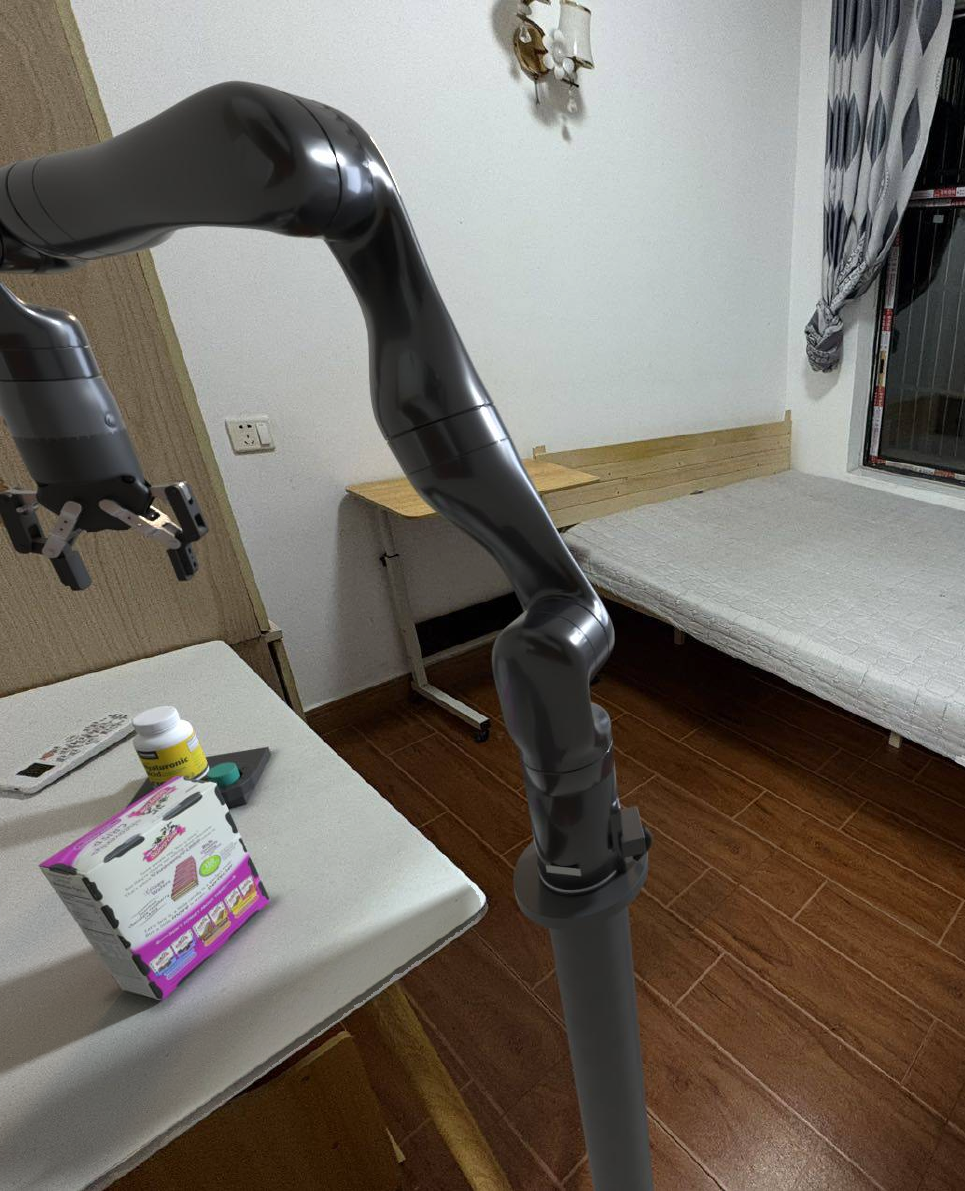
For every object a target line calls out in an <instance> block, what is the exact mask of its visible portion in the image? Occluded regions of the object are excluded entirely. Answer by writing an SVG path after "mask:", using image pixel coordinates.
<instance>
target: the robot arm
mask: <svg viewBox="0 0 965 1191" xmlns="http://www.w3.org/2000/svg"><path fill="white" fill-rule="evenodd" d="M197 227H198V228H199V227H209V228H210V227H211V228H229V229H230V228H231V229H243V230H244V229H246V230H257V231H263V232H270V233H273V234H276V235H279V236H284V237H288V238H295V239H296V238H298V239H312V240H313V239H314V240H322V241H323V242H324V243H325V244H326V246H327V248H328V249H329V250H330V252H331V254H332V255H333V257H334V258H335V260H336V262H337V263H338V265H339V267H340V269H341V270H342V273H343V274H344V276H345V278H346V280H347V282H348V284H349V285H350V288H351V290H352V291H353V293H354V295H355V297H356V300H357V302H358V305H359V307H360V310H361V313H362V317H363V319H364V324H365V327H366V334H367V347H368V348H367V350H368V381H369V383H368V384H369V395H370V404H371V408H372V412H373V413H372V414H373V417H374V420H375V422H376V425H377V427H378V429H379V432H380V433H381V435H382V437H383V439H384V441H386V444H387V446H388V448H389V449H390V451H391V453H392V454H393V456H394V458H395V460H396V462H397V463H398V465H399V467H400V469H401V470H402V472H403V474H404V475H405V478H406V479H407V481H408V482H409V484H410V485H411V486H412V488H413V490H414V491H415V493H417V495H418V496H419V497H420V499H421V500H422V501H423V502H424V503H425V504H426V505H428V506H429V507H430V508H431V509H432V510H433V511H434V512H436V514H438V515H439V516H440V517H442V519H444V520H445V521H447V522H448V523H449V524H450V525H452V526H453V527H455V528H456V529H457V530H459V531H460V532H461V533H463V534H464V535H466V536H467V537H468V538H470V539H471V540H472V541H473V542H475V543H476V544H478V545H479V546H480V547H482V548H483V549H484V550H485V551H486V552H487V553H488V554H489V555H490V556H491V557H492V558H493V560H494V561H495V562H496V563H497V565H498V566H499V567H500V569H501V570H502V572H503V573H504V574H505V577H506V578H507V580H508V582H509V584H510V585H511V587H512V589H513V591H514V592H515V593H514V594H515V595H516V597H517V599H518V601H519V603H520V606H521V608H522V611H523V612H522V613H521V614H520V615H519V616H517V618H515V619H514V620H513V621H511V622H510V623H509V624H508V625H507V626H506V627H504V628H503V629H502V630H501V632H500V633H499V634H498V635H497V637H496V638H495V640H494V643H493V645H492V649H491V650H492V651H491V670H492V674H493V675H492V676H493V681H494V686H495V689H496V693H497V698H498V701H499V705H500V710H501V714H502V718H503V722H504V726H505V729H506V731H507V733H508V736H509V737H510V738H511V740H512V741H513V742H514V744H515V745H516V748H518V753H519V760H520V765H521V766H520V767H521V771H522V777H523V783H524V789H525V795H526V801H527V806H528V812H529V818H530V824H531V830H532V836H533V840H534V842H535V848H536V854H537V862H538V871H539V877H540V880H541V882H542V884H543V885H544V886H545V888H547V889H548V890H549V891H551V892H552V893H555V894H557V895H561V896H568V897H574V896H582V895H586V894H590V893H592V892H595V891H597V890H599V889H601V888H603V887H604V886H606V885H607V884H608V883H610V882H611V881H612V880H613V879H614V878H615V877H616V876H617V875H619V874H622V873H625V872H626V860H625V858H626V857H630V856H632V857H633V859H634V860H635V861H639V860H640V858H641V857H642V856H643V855H644V854H645V853H646V852H647V851H648V852H649V850H650V848H652V845H653V842H654V836H653V834H652V832H651V830H649V828H648V827H646V825H645V824H644V825H642V819H641V816H640V812H639V808H638V805H635V806H630V807H626V808H621V803H620V799H619V794H618V784H617V772H616V763H615V762H616V761H615V755H614V754H615V752H614V740H613V731H612V730H613V729H612V721H611V717H610V715H609V714H608V711H607V710H606V709H605V708H603V707H602V706H601V705H599V704H597V703H595V702H593V701H591V694H590V692H591V691H590V684H591V682H592V680H593V679H594V678H595V677H596V675H597V674H598V673H599V672H600V670H601V669H602V668H603V667H604V665H605V664H606V663H607V662H608V660H609V658H610V656H611V654H612V652H613V650H614V645H615V640H616V639H615V629H614V625H613V622H612V619H611V617H610V615H609V613H608V610H607V609H606V607H605V605H604V603H603V601H602V600H601V598H600V596H599V594H598V593H597V592H596V590H595V588H594V587H593V585H592V584H591V582H590V581H589V579H588V578H587V576H586V574H585V573H584V572H583V570H582V568H581V567H580V565H579V564H578V562H577V561H576V559H575V557H574V556H573V554H572V553H571V551H570V550H569V548H568V546H567V544H566V543H565V541H564V539H563V537H562V536H561V534H560V532H559V530H558V529H557V527H556V524H555V523H554V521H553V519H552V517H551V515H550V512H549V511H548V509H547V507H546V505H545V503H544V501H543V499H542V497H541V495H540V493H539V491H538V490H537V487H536V485H535V484H534V482H533V480H532V478H531V476H530V474H529V473H528V471H527V468H526V466H525V464H524V462H523V460H522V458H521V456H520V453H519V451H518V448H517V446H516V445H515V444H516V443H515V442H514V440H513V438H512V436H511V434H510V432H509V430H508V427H507V426H506V423H505V422H504V420H503V418H502V416H501V414H500V411H499V409H498V408H497V406H496V404H495V402H494V400H493V397H492V396H491V394H490V393H489V390H488V389H487V387H486V385H485V383H484V382H483V380H482V378H481V376H480V374H479V372H478V371H477V368H476V366H475V364H474V362H473V359H472V358H471V356H470V354H469V351H468V349H467V347H466V345H465V343H464V341H463V339H462V336H461V335H460V332H459V331H458V328H457V326H456V324H455V322H454V320H453V318H452V316H451V314H450V311H449V310H448V307H447V305H446V303H445V301H444V298H442V295H441V293H440V291H439V289H438V286H437V284H436V282H435V280H434V277H433V274H432V271H431V269H430V266H429V265H428V262H427V259H426V258H425V255H424V251H423V249H422V247H421V244H420V242H419V240H418V236H417V233H416V232H415V228H414V226H413V224H412V221H411V219H410V216H409V213H408V211H407V207H406V206H405V203H404V199H403V198H402V195H401V193H400V190H399V188H398V185H397V183H396V180H395V178H394V175H393V174H392V171H391V169H390V167H389V165H388V163H387V161H386V159H385V157H384V156H383V154H382V152H381V150H380V149H379V147H378V145H377V144H376V143H375V141H374V139H373V138H372V137H371V135H370V134H368V132H367V131H366V130H365V129H364V127H363V126H362V125H361V124H360V123H358V122H357V121H356V120H354V118H352V117H350V115H349V114H346V113H345V112H343V111H341V110H340V109H338V108H336V107H333V106H330V105H329V104H326V103H324V102H321V101H318V100H314V99H310V98H307V97H303V96H300V95H296V94H293V93H290V92H287V91H284V90H281V89H278V88H275V87H272V86H269V85H265V84H261V83H255V82H250V81H244V80H229V81H223V82H219V83H215V84H212V85H211V86H207V87H205V88H203V89H201V90H199V91H197V92H195V93H193V94H191V95H189V96H186V97H185V98H184V99H182V100H181V101H178V102H177V103H175V104H173V105H171V106H169V107H167V109H165V110H163V111H161V112H159V113H157V114H156V115H155V116H153V117H151V118H149V119H146V120H145V121H143V122H141V123H139V124H137V125H136V126H133V127H131V128H130V129H128V130H125V131H124V132H121V133H120V134H117V135H116V136H113V137H111V138H108V139H105V140H103V141H100V142H97V143H94V144H91V145H87V146H84V147H79V148H75V149H71V150H66V151H61V152H55V153H49V154H45V155H41V156H36V157H31V158H26V159H22V160H18V161H15V162H12V163H9V164H6V165H5V166H3V167H1V168H0V275H2V274H3V275H5V274H6V275H36V276H37V275H38V276H39V275H41V276H42V275H43V276H45V275H46V276H47V275H57V274H58V275H59V274H65V273H71V272H74V271H77V270H79V269H82V268H83V267H85V266H87V265H89V264H90V263H92V262H93V261H95V260H102V259H107V258H108V259H109V258H114V257H120V256H126V255H131V254H136V253H140V252H145V251H147V250H150V249H153V248H156V247H158V246H161V245H163V244H164V243H165V242H167V241H168V240H169V239H170V238H172V236H173V235H174V234H175V233H176V231H179V230H183V229H187V228H189V229H190V228H197ZM0 414H1V416H2V421H3V423H4V425H5V427H6V428H7V430H8V431H9V433H10V435H11V438H12V440H13V442H14V444H15V446H16V449H17V451H18V453H19V454H20V457H21V459H22V461H23V463H24V465H25V468H26V470H27V472H28V474H29V476H30V478H31V479H32V480H33V481H34V482H35V483H36V486H37V487H36V488H37V490H26V489H25V488H22V487H18V486H17V487H12V488H11V489H6V490H5V491H2V492H0V517H1V520H2V522H3V524H4V527H5V531H6V532H7V534H8V537H9V539H10V541H11V544H12V546H13V548H14V551H15V552H17V553H18V554H22V555H27V554H30V553H31V554H37V555H42V556H45V557H46V558H48V559H49V560H50V562H51V565H52V567H53V569H54V571H55V573H56V575H57V577H58V579H59V581H60V583H61V584H62V585H63V586H65V587H69V588H70V590H71V591H73V592H79V591H85V590H86V589H87V588H89V587H90V586H91V585H92V584H93V580H92V577H91V575H90V573H89V571H88V569H87V567H86V565H85V562H84V560H83V558H82V556H81V554H80V552H79V550H78V549H77V550H73V547H74V545H75V543H76V542H77V540H78V538H79V536H80V535H81V533H82V532H84V531H86V533H87V534H89V533H99V532H102V531H106V530H108V531H117V532H118V531H119V532H120V531H128V530H130V529H132V528H133V529H134V530H136V531H137V532H139V533H141V534H142V535H144V536H146V537H152V538H153V539H155V540H157V541H158V542H159V543H161V544H163V545H164V546H165V547H167V549H166V553H167V556H168V558H169V561H170V563H171V566H172V568H173V571H174V573H175V576H176V578H177V580H178V581H179V582H189V581H190V580H192V578H194V577H195V574H196V573H198V571H199V567H200V565H199V562H198V559H197V557H196V555H195V551H194V549H193V546H192V543H193V542H194V543H195V542H198V541H200V540H201V539H202V538H203V537H204V536H205V535H207V534H208V533H209V532H210V528H209V526H208V523H207V521H206V519H205V516H204V514H203V512H202V509H201V507H200V505H199V503H198V500H197V498H196V496H195V493H194V491H193V489H192V487H191V485H190V483H189V482H188V481H187V480H184V479H178V480H176V481H174V482H172V483H166V484H165V483H164V484H155V485H153V484H152V483H150V482H149V480H147V478H146V477H145V475H144V472H143V468H142V463H141V462H140V459H139V457H138V454H137V451H136V449H135V447H134V444H133V441H132V439H131V436H130V433H129V432H128V429H127V426H126V424H125V420H124V418H123V416H122V413H121V411H120V408H119V406H118V403H117V401H116V398H115V397H114V395H113V393H112V391H111V389H110V388H109V386H108V385H107V383H106V381H105V379H104V376H103V375H102V372H101V369H100V367H99V364H98V361H97V359H96V357H95V355H94V352H93V349H92V346H91V345H90V341H89V338H88V336H87V333H86V332H85V328H84V327H83V325H82V324H81V321H80V320H79V319H78V318H77V317H76V316H75V315H74V314H73V313H72V312H70V311H68V310H66V309H63V308H59V307H55V306H52V305H45V304H39V303H34V302H28V301H24V300H22V299H21V298H19V297H18V296H16V295H15V294H14V293H13V292H12V291H11V290H10V289H9V288H8V287H7V286H6V285H5V284H4V282H3V281H2V280H0ZM156 498H158V499H160V500H161V501H162V503H163V504H164V505H166V506H169V507H171V509H172V511H173V513H174V515H175V518H176V520H177V523H178V524H179V525H178V524H176V523H174V522H173V521H171V518H170V517H169V516H168V515H167V514H165V513H163V512H162V511H161V510H159V509H158V508H156V507H155V506H153V503H154V501H155V499H156ZM39 504H40V505H41V506H42V507H43V508H45V509H47V510H48V511H50V512H52V513H53V514H54V515H56V516H58V517H57V519H56V521H55V522H54V524H53V526H52V528H51V529H50V531H49V533H48V537H46V535H45V532H44V531H43V527H42V525H41V523H40V520H39V518H38V515H37V512H36V511H38V510H39V508H40V505H39Z"/></svg>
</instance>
